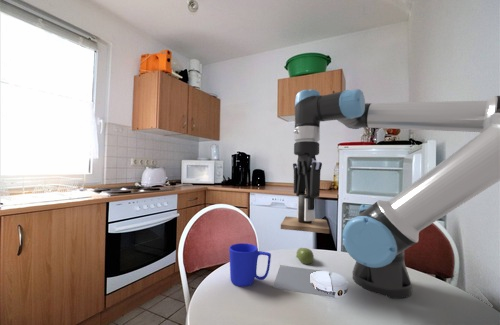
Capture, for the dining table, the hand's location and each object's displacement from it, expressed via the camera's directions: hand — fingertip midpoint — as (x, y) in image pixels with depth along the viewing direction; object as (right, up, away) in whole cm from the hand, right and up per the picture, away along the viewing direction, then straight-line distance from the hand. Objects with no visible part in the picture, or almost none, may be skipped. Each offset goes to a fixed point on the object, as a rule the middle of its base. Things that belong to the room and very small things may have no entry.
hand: (305, 219), depth 69 cm
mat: (-1, -18, -1) cm, 18 cm away
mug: (-17, -18, -4) cm, 25 cm away
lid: (0, -2, 0) cm, 2 cm away
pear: (+3, -19, +15) cm, 25 cm away
